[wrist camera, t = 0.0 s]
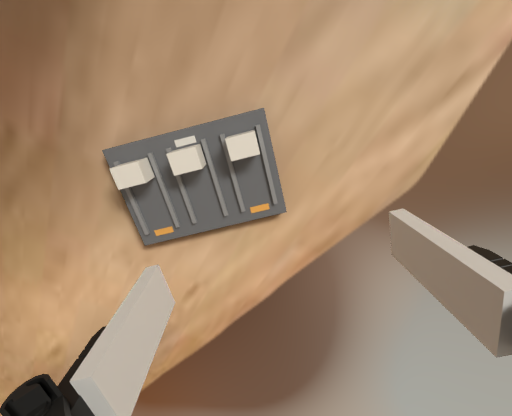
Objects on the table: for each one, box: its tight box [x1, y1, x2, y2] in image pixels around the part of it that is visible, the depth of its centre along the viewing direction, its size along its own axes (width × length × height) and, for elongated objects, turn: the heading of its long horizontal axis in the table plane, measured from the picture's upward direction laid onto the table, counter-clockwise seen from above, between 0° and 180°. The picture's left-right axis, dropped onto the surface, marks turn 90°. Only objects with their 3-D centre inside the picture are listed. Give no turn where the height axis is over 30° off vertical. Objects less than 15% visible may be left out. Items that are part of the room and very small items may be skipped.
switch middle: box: [166, 144, 206, 176], centre depth 35 cm, size 3×4×4 cm
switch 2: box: [225, 130, 260, 161], centre depth 35 cm, size 3×4×4 cm
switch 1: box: [109, 158, 155, 190], centre depth 36 cm, size 3×4×4 cm
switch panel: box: [102, 108, 286, 245], centre depth 40 cm, size 16×24×3 cm, turn 104°
